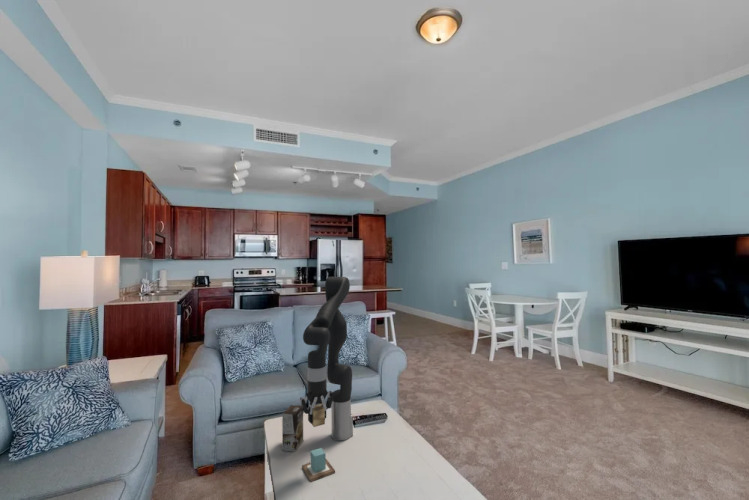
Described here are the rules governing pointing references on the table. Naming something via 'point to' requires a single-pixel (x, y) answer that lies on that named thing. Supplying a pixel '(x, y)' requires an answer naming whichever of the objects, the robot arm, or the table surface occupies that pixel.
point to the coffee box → (292, 428)
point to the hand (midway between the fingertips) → (317, 420)
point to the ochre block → (318, 416)
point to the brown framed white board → (320, 474)
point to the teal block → (318, 460)
